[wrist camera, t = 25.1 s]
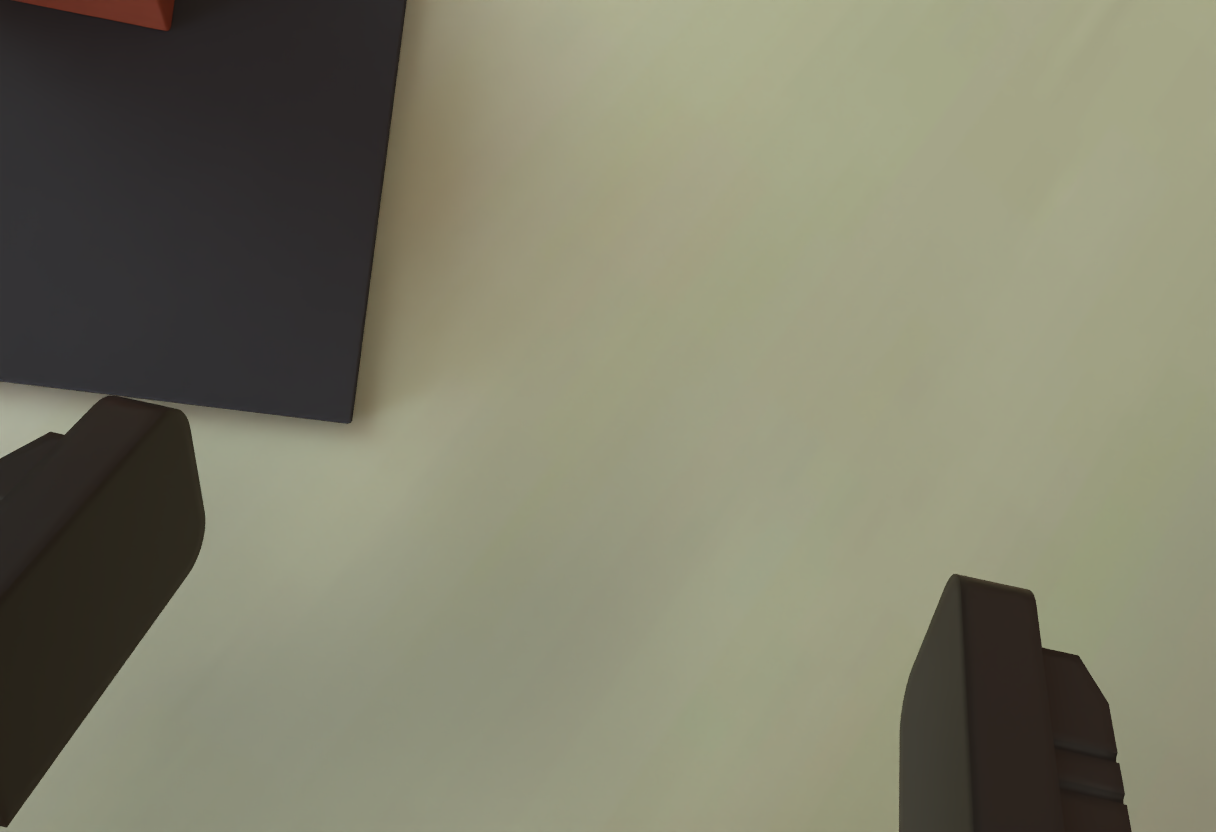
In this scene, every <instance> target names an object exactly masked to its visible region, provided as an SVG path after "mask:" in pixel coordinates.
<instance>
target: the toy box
mask: <svg viewBox="0 0 1216 832" xmlns="http://www.w3.org/2000/svg"><path fill="white" fill-rule="evenodd" d="M13 1H18V2H23V3H28V4H33V5H38V6H43V7H48V8H53V9H58V10H63V11H68V12H73V13H78V14H83V15H88V16H93V17H98V18H103V19H108V20H113V21H118V22H123V23H128V24H133V25H138V26H143V27H148V28H153V29H158V30H163V31H169V30H170V28H171V22H172V15H173V8H174V1H175V0H13Z"/></svg>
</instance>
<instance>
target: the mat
mask: <svg viewBox="0 0 1216 832" xmlns="http://www.w3.org/2000/svg"><path fill="white" fill-rule="evenodd" d="M406 1H407V0H175V1H174V8H173V15H172V22H171V28H170V30H169V31H163V30H158V29H153V28H148V27H143V26H138V25H133V24H128V23H123V22H118V21H113V20H108V19H103V18H98V17H93V16H88V15H83V14H78V13H73V12H68V11H63V10H58V9H53V8H48V7H43V6H38V5H33V4H28V3H23V2H18V1H13V0H0V381H2V382H10V383H19V384H27V385H35V386H43V387H51V388H60V389H68V390H76V391H84V392H92V393H101V394H109V395H117V396H125V397H133V398H141V399H150V400H158V401H166V402H174V403H182V404H191V405H199V406H207V407H215V408H223V409H231V410H240V411H248V412H256V413H264V414H272V415H281V416H289V417H297V418H305V419H313V420H321V421H330V422H338V423H346V424H348V423H351V422H352V418H353V410H354V402H355V395H356V387H357V379H358V371H359V364H360V356H361V348H362V341H363V333H364V325H365V317H366V310H367V302H368V294H369V286H370V279H371V271H372V263H373V256H374V248H375V240H376V232H377V225H378V217H379V209H380V201H381V194H382V186H383V178H384V171H385V163H386V155H387V147H388V140H389V132H390V124H391V117H392V109H393V101H394V93H395V86H396V78H397V70H398V62H399V55H400V47H401V39H402V32H403V24H404V16H405V8H406Z"/></svg>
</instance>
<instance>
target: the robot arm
mask: <svg viewBox="0 0 1216 832" xmlns="http://www.w3.org/2000/svg"><path fill="white" fill-rule="evenodd" d="M204 532H205V511H204V505H203V499H202V494H201V488H200V482H199V476H198V470H197V465H196V459H195V453H194V447H193V441H192V435H191V430H190V425H189V421H188V419H187V417H186V415H185V414H184V413H183V412H182V411H181V410H178V409H174V408H170V407H165V406H160V405H156V404H151V403H146V402H142V401H137V400H133V399H128V398H123V397H119V396H107V397H104V398H102V399H101V400H99V401H98V402H97V403H96V404H95V405H93V407H92V408H91V409H90V410H89V411H88V412H87V413H86V414H85V415H84V416H83V417H82V418H81V419H80V420H79V421H78V422H77V423H76V424H75V425H74V426H73V427H72V428H71V429H70V430H69V431H68V432H67V433H66V434H65V435H62V434H58V433H53V432H49V433H47V434H45V435H43V436H42V437H40V438H38V439H36V440H34V441H32V442H30V443H28V444H27V445H25V446H23V447H21V448H19V449H17V450H15V451H14V452H12V453H10V454H8V455H6V456H4V457H2V458H1V459H0V826H3V827H7V826H8V825H9V823H10V822H11V821H12V819H13V818H14V816H15V815H16V814H17V812H18V811H19V809H20V808H21V807H22V805H23V804H24V802H25V801H26V800H27V798H28V797H29V796H30V794H31V793H32V791H33V790H34V789H35V787H36V786H37V784H38V783H39V782H40V780H41V779H42V777H43V776H44V775H45V773H46V772H47V770H48V769H49V768H50V766H51V765H52V763H53V762H54V761H55V759H56V758H57V757H58V755H59V754H60V752H61V751H62V750H63V748H64V747H65V745H66V744H67V743H68V741H69V740H70V738H71V737H72V736H73V734H74V733H75V731H76V730H77V729H78V727H79V726H80V724H81V723H82V722H83V720H84V719H85V718H86V716H87V715H88V713H89V712H90V711H91V709H92V708H93V706H94V705H95V704H96V702H97V701H98V699H99V698H100V697H101V695H102V694H103V692H104V691H105V690H106V688H107V687H108V685H109V684H110V683H111V681H112V680H113V678H114V677H115V676H116V674H117V673H118V672H119V670H120V669H121V667H122V666H123V665H124V663H125V662H126V660H127V659H128V658H129V656H130V655H131V653H132V652H133V651H134V649H135V648H136V646H137V645H138V644H139V642H140V641H141V639H142V638H143V637H144V635H145V634H146V633H147V631H148V630H149V628H150V627H151V626H152V624H153V623H154V621H155V620H156V619H157V617H158V616H159V614H160V613H161V612H162V610H163V609H164V607H165V606H166V605H167V603H168V602H169V600H170V599H171V598H172V596H173V595H174V594H175V592H176V591H177V589H178V588H179V587H180V585H181V584H182V582H183V581H184V580H185V578H186V577H187V575H188V574H189V572H190V571H191V569H192V568H193V566H194V564H195V562H196V559H197V557H198V555H199V552H200V549H201V546H202V542H203V537H204ZM1116 756H1117V748H1116V742H1115V737H1114V731H1113V726H1112V720H1111V714H1110V709H1109V704H1108V702H1107V700H1106V699H1105V697H1104V696H1103V694H1102V692H1101V691H1100V689H1099V688H1098V686H1097V684H1096V683H1095V681H1094V680H1093V678H1092V676H1091V675H1090V673H1089V672H1088V670H1087V668H1086V667H1085V665H1084V664H1083V662H1082V660H1081V659H1080V657H1079V656H1078V655H1073V654H1069V653H1064V652H1059V651H1055V650H1050V649H1046V648H1042V646H1041V638H1040V630H1039V622H1038V614H1037V606H1036V600H1035V597H1034V595H1033V593H1032V592H1031V591H1030V590H1027V589H1023V588H1018V587H1013V586H1009V585H1004V584H999V583H995V582H990V581H985V580H981V579H976V578H972V577H967V576H962V575H958V574H953V575H952V576H951V577H950V578H949V580H948V582H947V584H946V586H945V588H944V591H943V593H942V595H941V598H940V600H939V603H938V605H937V608H936V610H935V613H934V615H933V618H932V620H931V623H930V625H929V628H928V630H927V633H926V635H925V638H924V640H923V643H922V645H921V648H920V650H919V653H918V655H917V658H916V660H915V663H914V665H913V667H912V670H911V673H910V676H909V679H908V683H907V686H906V691H905V695H904V700H903V706H902V713H901V722H900V768H899V832H1131V826H1130V820H1129V815H1128V809H1127V805H1124V803H1123V799H1124V795H1125V793H1124V787H1123V781H1122V776H1121V770H1120V765H1119V763H1116Z"/></svg>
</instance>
